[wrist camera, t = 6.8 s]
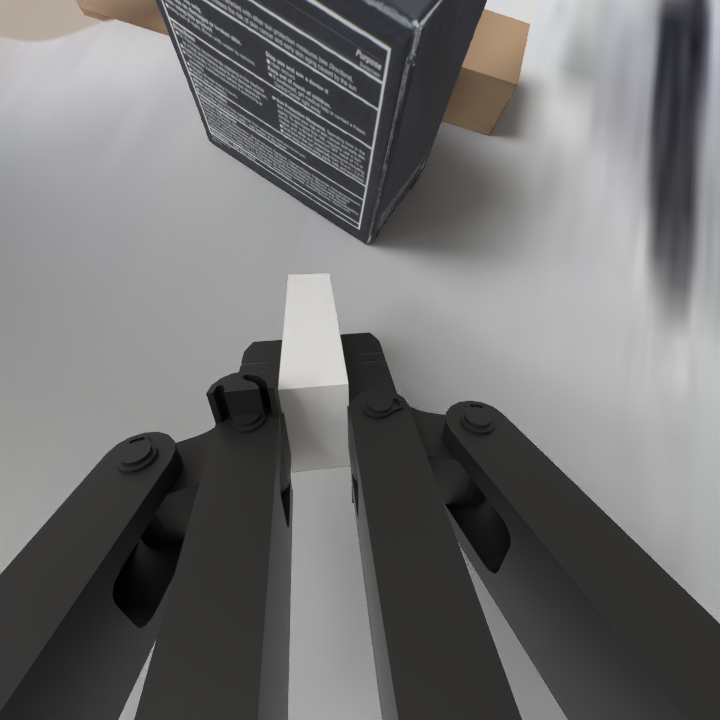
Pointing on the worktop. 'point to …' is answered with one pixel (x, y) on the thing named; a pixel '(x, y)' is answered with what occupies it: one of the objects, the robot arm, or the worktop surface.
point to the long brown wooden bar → (474, 83)
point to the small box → (325, 92)
